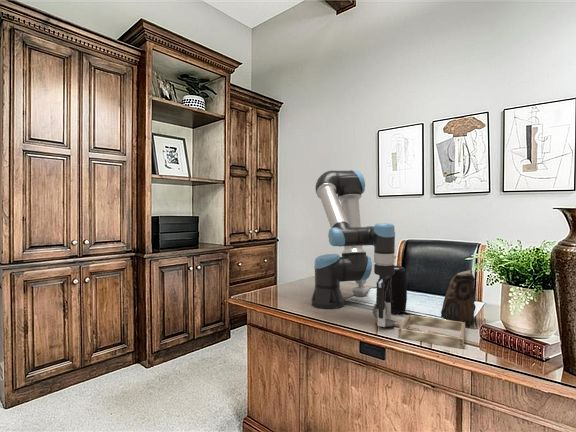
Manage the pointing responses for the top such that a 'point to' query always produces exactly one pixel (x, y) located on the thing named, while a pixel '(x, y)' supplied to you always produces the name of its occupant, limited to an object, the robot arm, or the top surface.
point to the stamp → (360, 288)
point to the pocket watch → (387, 321)
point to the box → (430, 336)
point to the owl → (460, 299)
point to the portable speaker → (399, 290)
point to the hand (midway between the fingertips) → (384, 322)
